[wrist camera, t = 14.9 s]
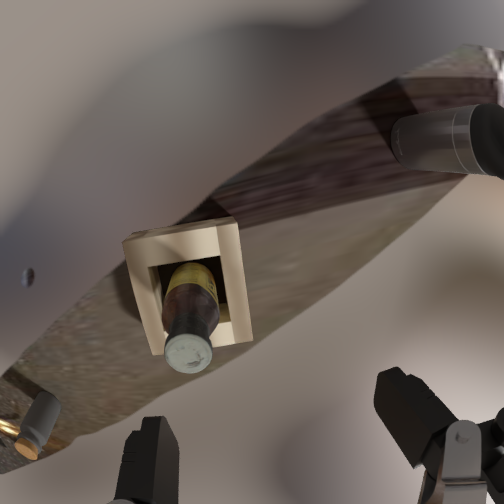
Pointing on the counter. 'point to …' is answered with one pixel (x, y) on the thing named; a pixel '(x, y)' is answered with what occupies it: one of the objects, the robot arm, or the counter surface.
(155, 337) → the dock block
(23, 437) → the bottle
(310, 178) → the counter surface
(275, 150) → the counter surface
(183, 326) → the sauce bottle
